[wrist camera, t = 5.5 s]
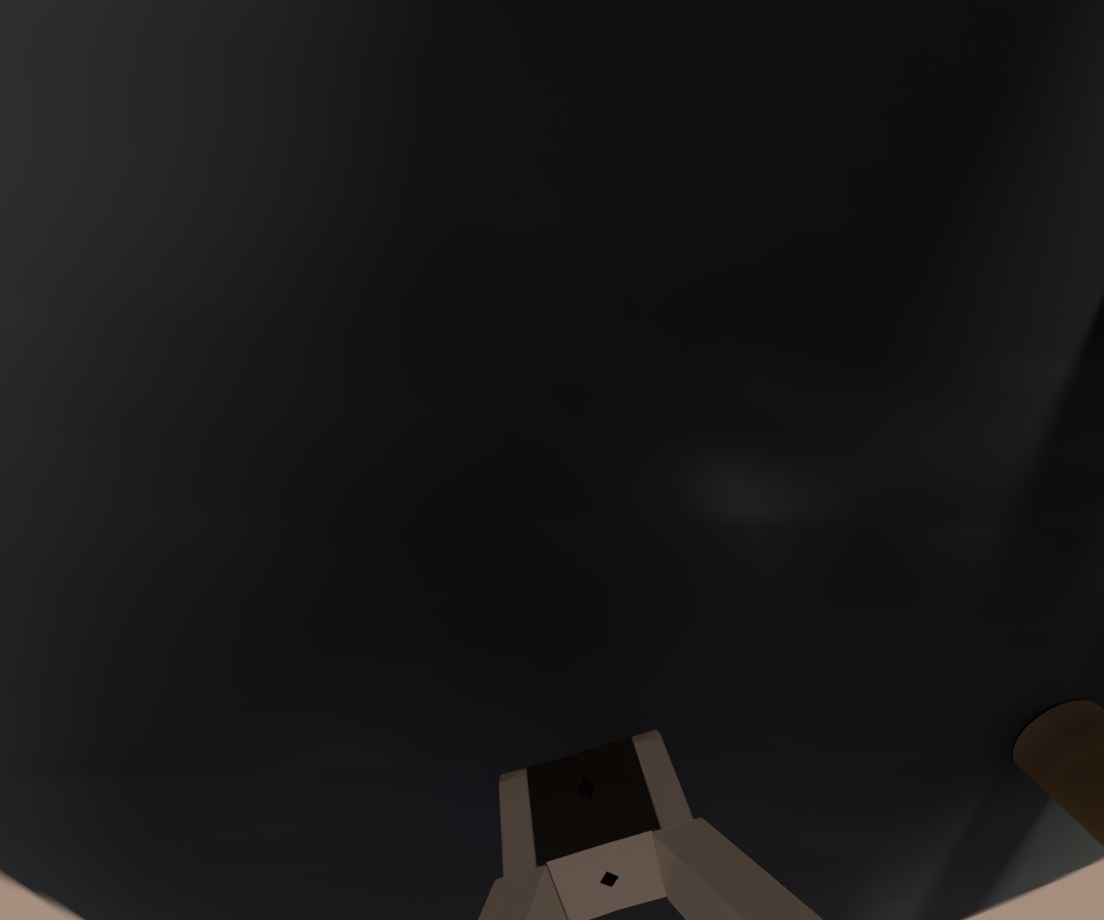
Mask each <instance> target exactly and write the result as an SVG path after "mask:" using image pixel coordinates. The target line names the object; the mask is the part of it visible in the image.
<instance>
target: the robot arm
mask: <svg viewBox="0 0 1104 920" xmlns="http://www.w3.org/2000/svg"><path fill="white" fill-rule="evenodd" d="M499 799H500V818H501V838H502V857H503V877H501V878H499V879H496V880H495V881H494V883H493V886H492V888H491V890H490V893H489V895H488V897H487V900H486V902H485V904H484V907H483V909H482V911H481V914H480V916H479V918H478V920H590V919H593V918H596V917H599V916H602V915H605V914H607V913H610V912H613V911H616V910H619V909H623V908H627V907H630V906H634V905H638V904H641V903H645V902H649V901H652V900H656V899H659V898H663V897H668V900H669V901H670V902H671V904H672V905H673V906H674V907H675V908H676V909H677V910H678V912H679V913H680V914H681V915H682V916H683V917H684V918H685V920H823V919H822V918H821V917H819V916H818V915H817V914H816V913H815V912H814V911H812V910H811V909H810V908H809V907H808V906H806V905H805V904H804V903H803V902H802V901H800V900H799V899H798V898H797V897H796V896H795V895H793V894H792V893H791V892H790V891H789V890H787V889H786V888H785V887H784V886H783V885H782V884H780V883H779V882H778V881H777V880H776V879H774V878H773V877H772V876H771V875H770V874H768V873H767V872H766V871H765V870H764V869H763V868H761V867H760V866H759V865H758V864H757V863H755V862H754V861H753V860H752V859H751V858H750V857H748V856H747V855H746V854H745V853H744V852H742V851H741V850H740V849H739V848H738V847H736V846H735V845H734V844H733V843H732V842H731V841H729V840H728V839H727V838H726V837H725V836H723V835H722V834H721V833H720V832H719V831H718V830H716V829H715V828H714V827H713V826H712V825H710V824H709V823H708V822H707V821H706V820H704V819H703V818H702V817H701V818H697V819H693V817H692V814H691V812H690V809H689V806H688V804H687V801H686V799H685V796H684V794H683V791H682V788H681V786H680V783H679V781H678V778H677V776H676V773H675V770H674V768H673V765H672V763H671V760H670V758H669V755H668V752H667V750H666V747H665V745H664V742H663V740H662V737H661V734H660V733H659V732H658V731H657V729H655V730H652V731H648V732H645V733H642V734H639V735H636V736H633V737H631V738H630V736H629V737H626V738H623V739H619V740H616V741H613V742H610V743H607V744H603V745H600V746H597V747H594V748H591V749H587V750H584V751H581V752H579V753H578V754H574V755H570V756H567V757H563V758H559V759H556V760H552V761H548V762H545V763H541V764H537V765H534V766H530V767H525V768H522V769H518V770H515V771H512V772H508V773H505V774H501V775H500V781H499Z"/></svg>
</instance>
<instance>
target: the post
mask: <svg viewBox="0 0 1104 920" xmlns="http://www.w3.org/2000/svg"><path fill="white" fill-rule="evenodd" d="M1013 759H1014V761H1015V763H1016V764H1017V765H1018V766H1019V767H1020V768H1021V769H1022V770H1023V771H1024V772H1025V773H1027V774H1028V775H1029V776H1030V777H1031V778H1032V779H1033V780H1034V781H1035V782H1036V783H1037V784H1038V785H1039V786H1040V787H1041V788H1042V789H1043V790H1044V791H1045V792H1046V793H1048V794H1049V795H1050V796H1051V797H1052V798H1053V799H1054V800H1055V801H1056V802H1057V803H1058V804H1059V805H1060V806H1061V807H1062V808H1063V809H1064V810H1065V811H1066V812H1067V813H1069V814H1070V815H1071V816H1072V817H1073V818H1074V819H1075V820H1076V821H1077V822H1078V823H1079V824H1080V825H1081V826H1082V827H1083V828H1084V829H1085V830H1086V831H1087V832H1088V833H1090V834H1091V835H1092V836H1093V837H1094V838H1095V839H1096V840H1097V841H1098V842H1099V843H1100V844H1101V845H1102V846H1103V847H1104V709H1102V708H1101V707H1100V706H1098V705H1097V704H1096V703H1094V702H1091V701H1087V700H1077V701H1071V702H1067V703H1064V704H1061V705H1059V706H1056V707H1054V708H1052V709H1050V710H1048V711H1047V712H1045V713H1043V714H1042V715H1040V716H1039V717H1038V718H1036V719H1035V720H1034V721H1033V722H1031V723H1030V724H1029V725H1028V726H1027V727H1026V728H1025V730H1024V731H1023V732H1022V733H1021V735H1020V736H1019V737H1018V739H1017V741H1016V743H1015V745H1014V748H1013Z"/></svg>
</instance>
